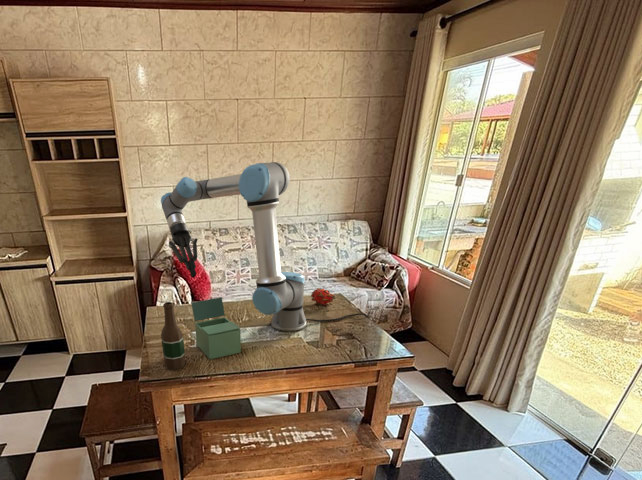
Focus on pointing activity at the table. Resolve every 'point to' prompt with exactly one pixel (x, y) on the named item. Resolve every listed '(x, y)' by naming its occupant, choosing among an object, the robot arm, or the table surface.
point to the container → (218, 337)
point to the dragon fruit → (322, 296)
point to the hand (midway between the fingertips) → (194, 275)
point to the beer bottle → (172, 340)
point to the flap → (208, 309)
